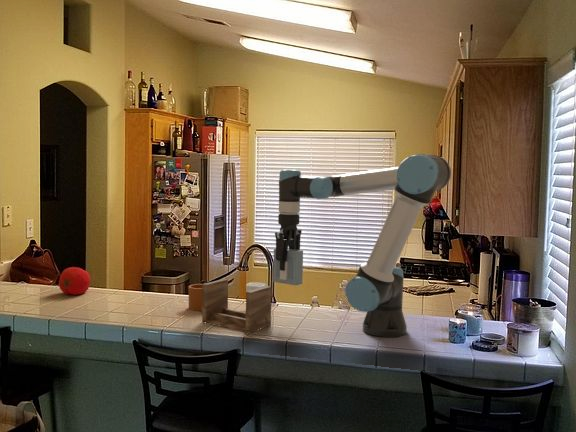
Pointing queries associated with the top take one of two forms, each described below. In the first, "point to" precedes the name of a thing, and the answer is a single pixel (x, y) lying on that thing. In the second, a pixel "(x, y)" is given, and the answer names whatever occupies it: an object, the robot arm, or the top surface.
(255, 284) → the white cup
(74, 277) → the tomato
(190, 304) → the mug
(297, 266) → the gray rectangular block
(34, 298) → the top surface
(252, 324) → the wooden frame
